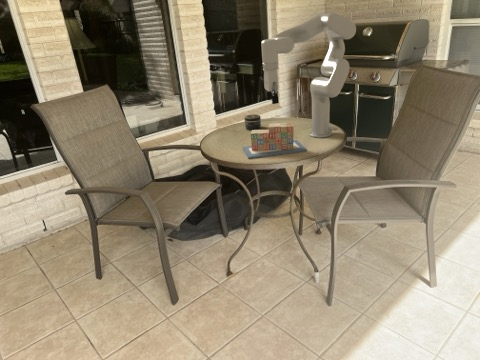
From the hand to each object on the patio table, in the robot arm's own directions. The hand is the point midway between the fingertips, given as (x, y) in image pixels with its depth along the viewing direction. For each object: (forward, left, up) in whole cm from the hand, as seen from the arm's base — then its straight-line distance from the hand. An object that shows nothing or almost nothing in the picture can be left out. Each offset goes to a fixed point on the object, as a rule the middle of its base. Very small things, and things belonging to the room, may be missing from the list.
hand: (272, 101), depth 185 cm
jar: (+3, -40, -24) cm, 47 cm away
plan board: (+1, +4, -24) cm, 25 cm away
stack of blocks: (+2, +4, -23) cm, 24 cm away
